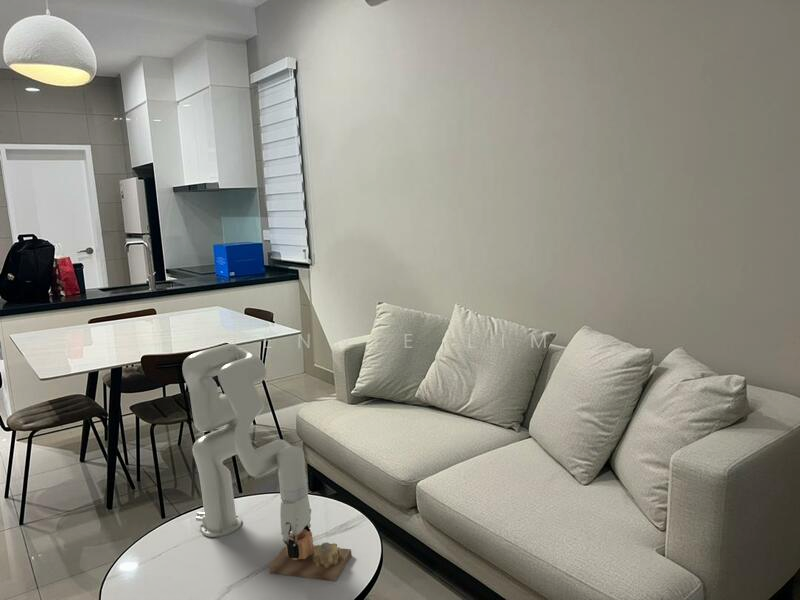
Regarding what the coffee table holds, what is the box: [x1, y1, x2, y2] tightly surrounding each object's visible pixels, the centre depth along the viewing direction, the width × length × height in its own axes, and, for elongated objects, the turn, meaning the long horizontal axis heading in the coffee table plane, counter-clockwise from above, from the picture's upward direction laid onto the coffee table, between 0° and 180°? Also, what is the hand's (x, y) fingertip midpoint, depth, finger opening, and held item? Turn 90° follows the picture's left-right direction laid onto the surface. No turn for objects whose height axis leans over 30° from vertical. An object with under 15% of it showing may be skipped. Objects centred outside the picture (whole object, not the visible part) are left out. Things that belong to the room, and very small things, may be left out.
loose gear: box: [285, 529, 314, 560], centre depth 173 cm, size 7×7×5 cm
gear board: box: [268, 542, 353, 582], centre depth 172 cm, size 20×12×6 cm, turn 74°
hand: (300, 548), depth 173 cm, fingers closed on loose gear, 7 cm apart
